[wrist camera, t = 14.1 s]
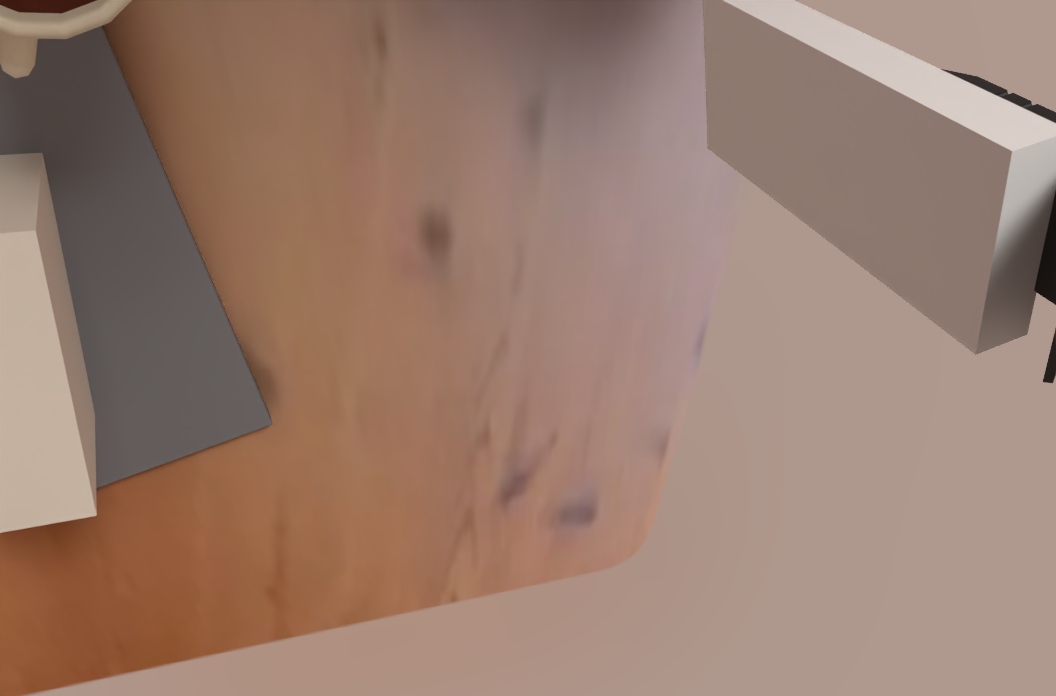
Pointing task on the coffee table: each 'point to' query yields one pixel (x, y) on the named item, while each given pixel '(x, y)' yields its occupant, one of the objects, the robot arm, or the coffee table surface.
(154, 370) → the rubber mat
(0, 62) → the character mug
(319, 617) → the coffee table surface
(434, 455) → the coffee table surface
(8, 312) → the cream block
